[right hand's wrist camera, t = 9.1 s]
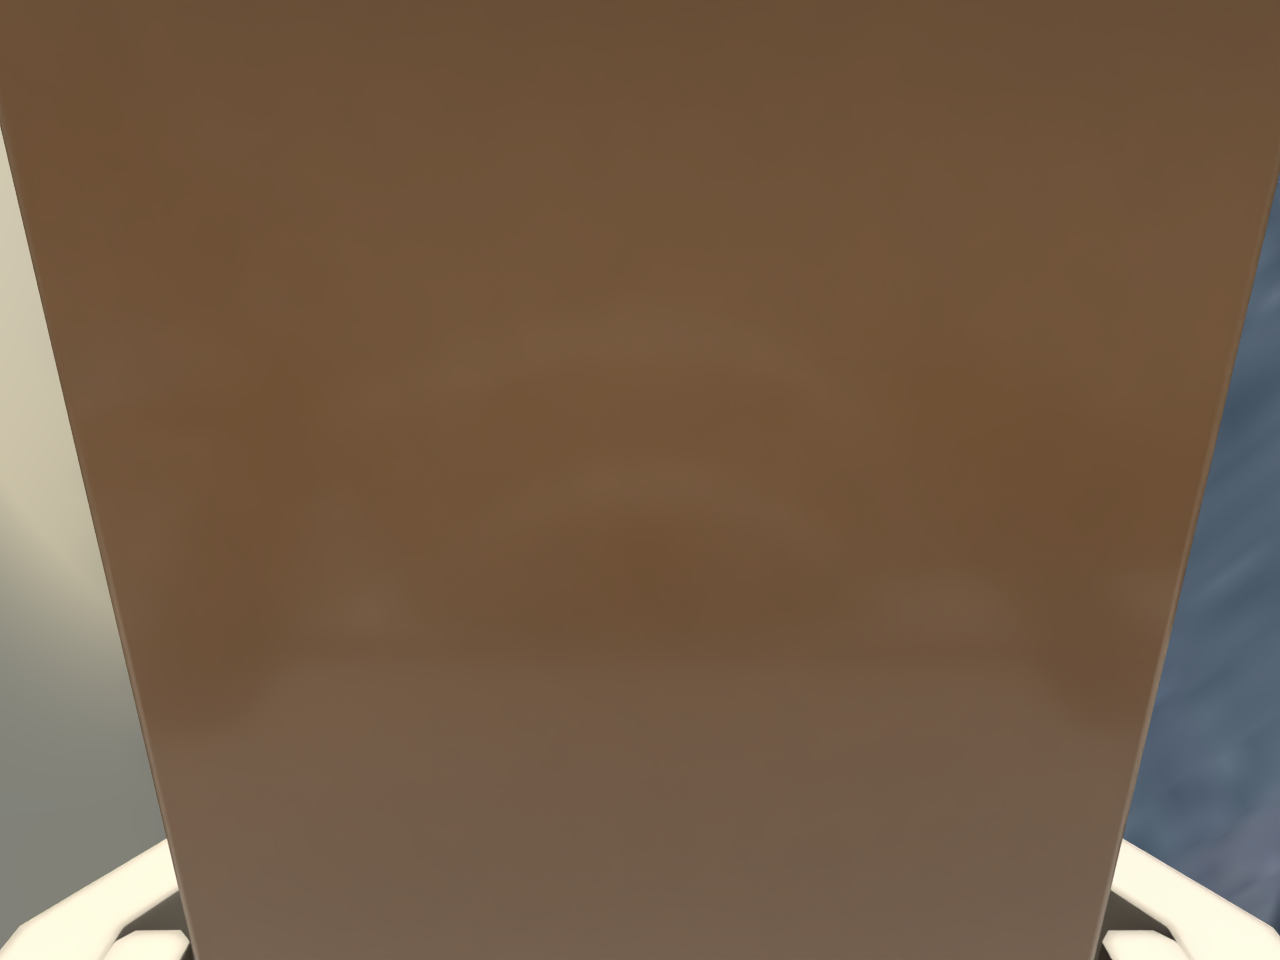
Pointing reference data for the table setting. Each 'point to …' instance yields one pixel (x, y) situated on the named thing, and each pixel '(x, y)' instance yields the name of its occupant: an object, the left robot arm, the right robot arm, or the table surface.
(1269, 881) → the table surface
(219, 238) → the bar
